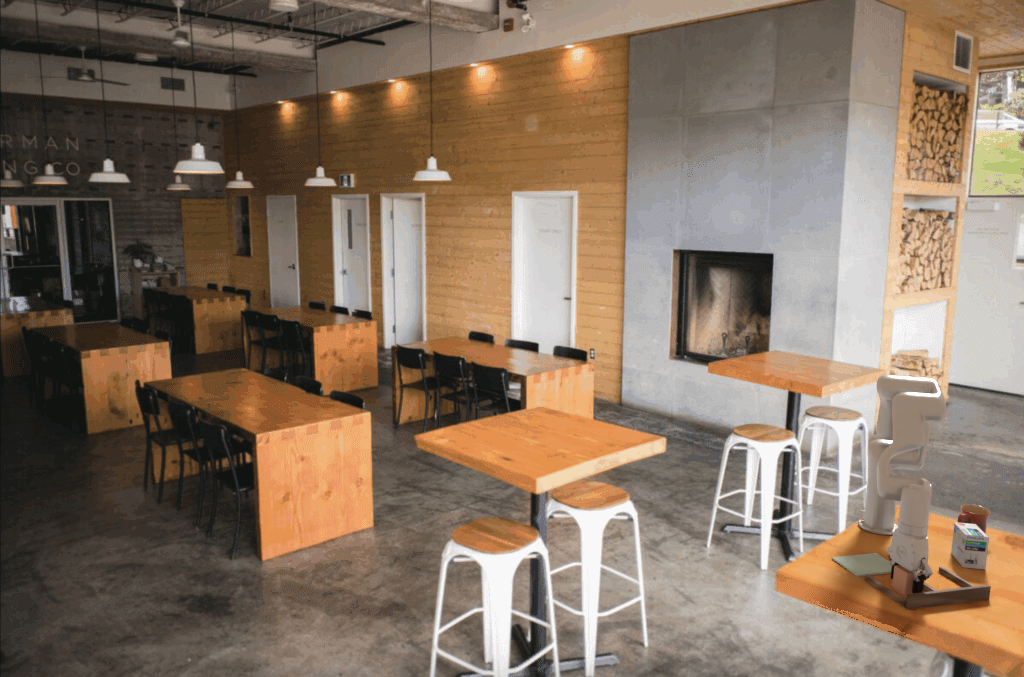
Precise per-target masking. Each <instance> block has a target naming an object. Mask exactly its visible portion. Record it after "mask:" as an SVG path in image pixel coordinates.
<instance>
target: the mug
mask: <svg viewBox="0 0 1024 677" xmlns="http://www.w3.org/2000/svg"><path fill="white" fill-rule="evenodd" d="M960 511H961V513H960V514H959V515H958V516H957V521H956V522H959V523H968V524H976V525H977V526H978V527H979V528H980V529H981V530H982V531H983V532H984V533H985V534H986V535H987V527H988V519H989V517H990V515H991V514H992V513H991V511H990V510H989V509H988V508H986V507H985V506H981V505H976V504H962V505H961V506H960Z"/></svg>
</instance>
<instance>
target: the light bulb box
mask: <svg viewBox="0 0 1024 677" xmlns="http://www.w3.org/2000/svg"><path fill="white" fill-rule="evenodd" d="M989 542H990V536H989V535H988V534H987V533H986V534H985V533H984V532H983V531H982V530H981V529H980V528H979V527H978V526H977V525H976V524H968V523H959V522H957V521H954V524H953V532H952V542H951V551H950V553H951V555H952V556H953V557H954V559H955V560H956V561H957V562H958V563H959V565H960V566H961V567H962V568H965V569H966V568H967V569H974V570H975V569H976V570H977V569H978V570H986V569H987V559H988V550H989Z"/></svg>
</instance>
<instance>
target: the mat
mask: <svg viewBox="0 0 1024 677" xmlns="http://www.w3.org/2000/svg"><path fill="white" fill-rule="evenodd" d="M832 559H833V560H832ZM831 560H832V561H833V562H835V561H836V562H835V563H837V564H838V563H839V564H840V565H839V564H838V565H839V566H841V567H842V566H843V568H844V569H845V568H846V569H845V570H847V571H848V572H850V573H851V574H853V575H854V576H855V577H857V578H859V577H860V578H861V577H865V575H869V576H876V575H889V574H891V568H892V565H891V564H890V562H891V561H890V560H888V559H886V558H885V557H884V556H881V555H880V554H879V553H877V552H871V553H870V552H869V553H862V554H853V555H852V554H851V555H842V556H833V557H831Z"/></svg>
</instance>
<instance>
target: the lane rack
mask: <svg viewBox="0 0 1024 677" xmlns="http://www.w3.org/2000/svg"><path fill="white" fill-rule="evenodd" d="M938 572H939V573H940V574H942V575H944V576H946V577H947V578H949V579H951V580H953V581H954V582H955V583H958V584H959V585H961V586H963V587H958V588H957V587H956V588H950V589H949V588H948V589H940V590H937V589H936V588H934V587H933V586H931V585H929V584H928V583H926V582H924V587H923V592H922V593H913V594H907V596H905V597H906V598H903V597H902V596H900V595H899V594H897V593H896V592H894V591H893V590H891V589H890V588H888V587H887V586H885V585H884V584H883V583H882V582H880V581H878V580H877V579H875V578H874V577H873V576H872V575H870V576H869V575H865V576H864V580H865V581H866V582H867V583H869V584H870V585H872V586H873V587H874V588H876V589H878V590H879V591H881V593H883V594H885V595H886V596H887V597H889V598H890V599H892V600H893V601H894V602H895V603H897V604H899V605H900V606H902V607H904V609H906V610H907V611H908V610H909V611H910V610H914V609H915V610H917V609H923V608H924V609H925V608H931V607H932V608H933V607H939V606H947V605H949V606H950V605H955V604H965V603H971V602H972V603H973V602H981V601H987V600H988V601H989V600H990V598H991V597H990V595H991V588H992V586H991V585H990V584H983V585H975V584H973V583H971V582H969V581H967V580H965V579H964V578H962V577H961V576H959V575H957V574H956V573H954V572H953V571H951V570H948V569H947V568H945V567H944V566H939V567H938Z"/></svg>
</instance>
